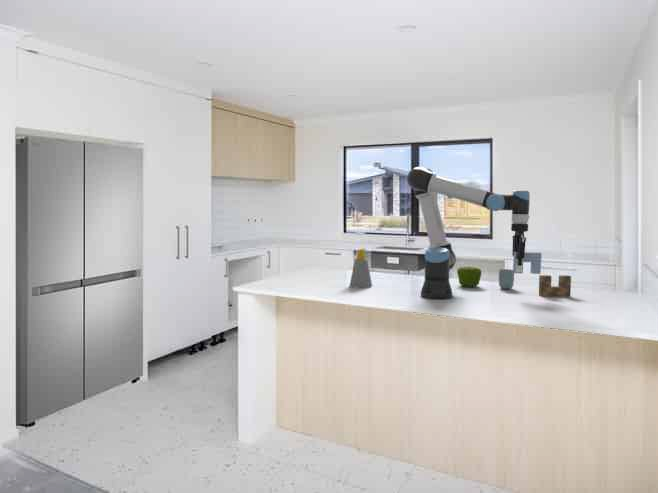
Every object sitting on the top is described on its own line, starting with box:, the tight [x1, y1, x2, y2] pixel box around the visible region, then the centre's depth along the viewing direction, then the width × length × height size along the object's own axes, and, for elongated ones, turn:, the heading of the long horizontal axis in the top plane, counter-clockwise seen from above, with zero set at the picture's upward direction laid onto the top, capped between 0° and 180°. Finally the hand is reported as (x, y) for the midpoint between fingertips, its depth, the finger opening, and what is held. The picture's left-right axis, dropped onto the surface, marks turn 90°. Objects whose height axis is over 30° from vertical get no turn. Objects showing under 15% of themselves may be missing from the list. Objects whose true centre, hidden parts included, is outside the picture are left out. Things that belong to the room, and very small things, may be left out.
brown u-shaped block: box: [538, 274, 572, 298], centre depth 245 cm, size 14×3×10 cm, turn 86°
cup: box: [498, 268, 515, 290], centre depth 265 cm, size 8×8×10 cm
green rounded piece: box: [456, 266, 482, 288], centre depth 274 cm, size 12×12×11 cm
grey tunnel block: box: [512, 251, 543, 275], centre depth 240 cm, size 12×3×10 cm, turn 86°
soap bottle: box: [349, 248, 373, 289], centre depth 274 cm, size 12×12×20 cm
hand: (517, 271), depth 241 cm, fingers closed on grey tunnel block, 3 cm apart
